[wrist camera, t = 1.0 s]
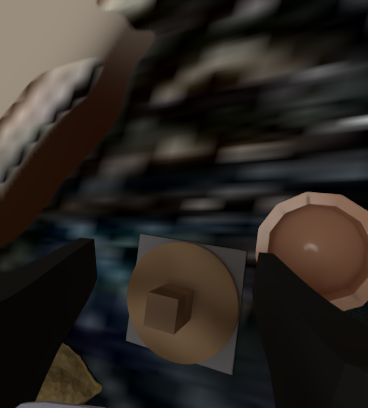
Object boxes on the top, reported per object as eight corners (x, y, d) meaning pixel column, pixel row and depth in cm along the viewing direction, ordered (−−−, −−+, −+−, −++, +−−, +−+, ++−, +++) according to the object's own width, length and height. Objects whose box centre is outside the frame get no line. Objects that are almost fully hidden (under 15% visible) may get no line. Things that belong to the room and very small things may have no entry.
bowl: (368, 313, 20) (381, 327, 18) (255, 289, 23) (250, 298, 20) (379, 203, 21) (393, 199, 18) (266, 193, 24) (263, 188, 21)
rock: (-18, 335, 31) (-8, 443, 27) (-64, 331, 23) (-59, 481, 19) (85, 300, 34) (106, 392, 30) (75, 287, 26) (101, 408, 23)
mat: (232, 372, 23) (231, 374, 23) (128, 338, 27) (126, 340, 27) (247, 251, 24) (246, 251, 23) (142, 234, 27) (140, 234, 27)
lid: (231, 374, 23) (218, 407, 19) (126, 340, 27) (95, 361, 22) (246, 251, 23) (236, 256, 19) (140, 234, 27) (112, 234, 23)
